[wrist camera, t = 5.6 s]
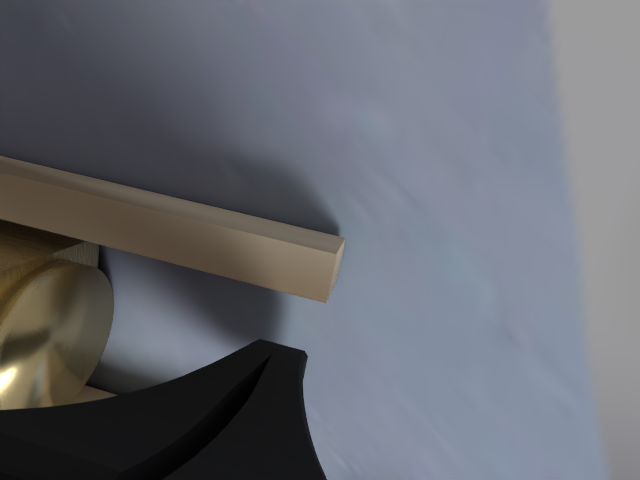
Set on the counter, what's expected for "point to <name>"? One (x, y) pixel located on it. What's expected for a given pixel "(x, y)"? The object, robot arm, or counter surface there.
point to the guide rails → (170, 232)
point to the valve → (49, 316)
